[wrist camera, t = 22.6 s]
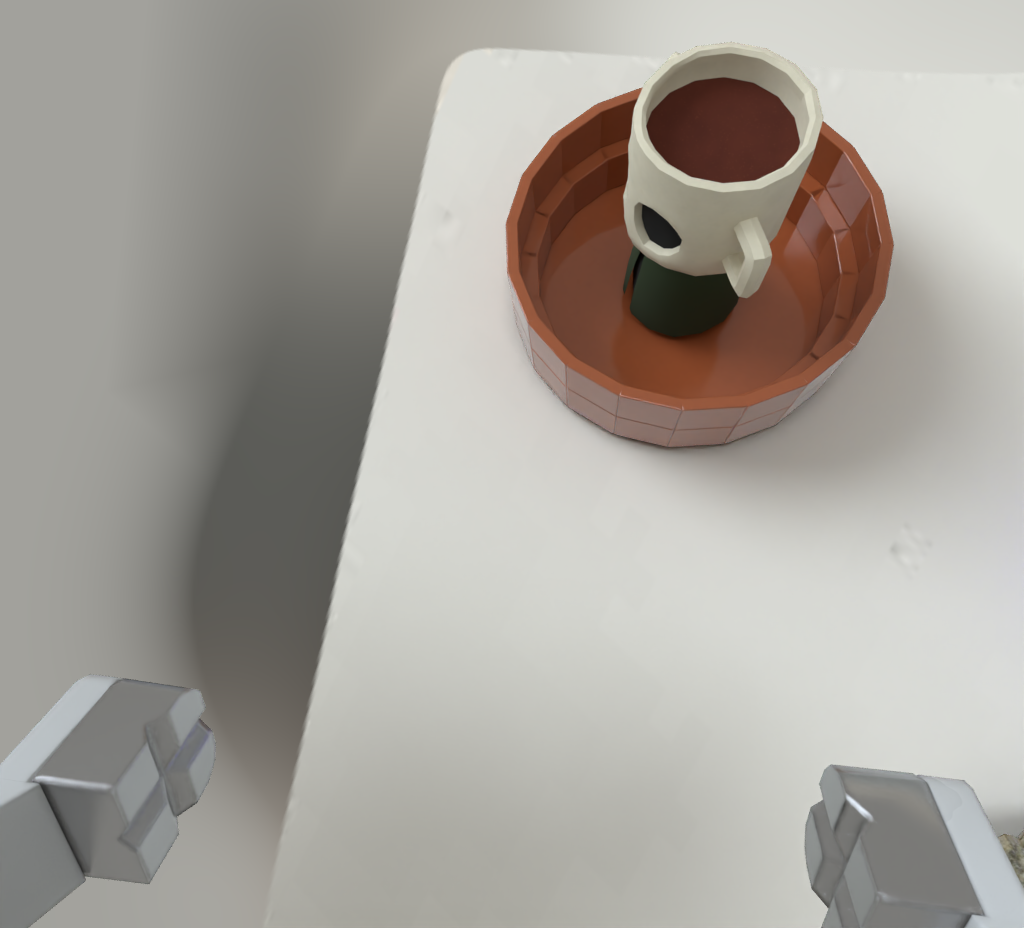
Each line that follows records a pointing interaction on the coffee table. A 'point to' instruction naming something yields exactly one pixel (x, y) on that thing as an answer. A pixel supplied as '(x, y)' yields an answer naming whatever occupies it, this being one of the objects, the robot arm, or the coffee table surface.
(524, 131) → the coffee table surface
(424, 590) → the coffee table surface
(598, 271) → the bowl
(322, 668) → the coffee table surface
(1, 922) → the robot arm
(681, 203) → the character mug
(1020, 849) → the rock
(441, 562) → the coffee table surface
